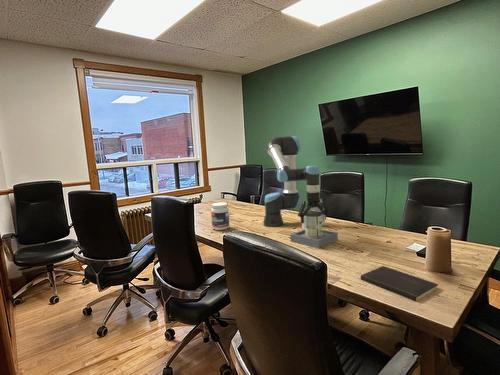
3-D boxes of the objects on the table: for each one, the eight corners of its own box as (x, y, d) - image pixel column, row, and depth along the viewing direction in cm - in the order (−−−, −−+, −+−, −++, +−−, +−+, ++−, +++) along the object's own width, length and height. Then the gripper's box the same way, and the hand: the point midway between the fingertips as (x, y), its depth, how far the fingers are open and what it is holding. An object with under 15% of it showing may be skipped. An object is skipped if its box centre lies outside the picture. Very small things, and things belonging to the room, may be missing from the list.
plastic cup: (327, 227, 204) (326, 210, 203) (311, 227, 207) (310, 210, 205) (326, 223, 215) (326, 207, 213) (311, 223, 217) (310, 207, 216)
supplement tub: (209, 230, 211) (207, 205, 208) (215, 226, 223) (214, 202, 221) (226, 231, 208) (224, 205, 205) (231, 226, 220) (230, 202, 218)
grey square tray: (290, 241, 178) (290, 234, 177) (310, 233, 191) (310, 227, 190) (318, 248, 163) (318, 240, 162) (337, 239, 176) (337, 232, 176)
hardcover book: (382, 270, 132) (383, 265, 131) (438, 289, 112) (438, 284, 112) (360, 280, 123) (360, 275, 123) (415, 303, 104) (415, 297, 104)
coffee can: (306, 232, 183) (305, 210, 181) (323, 233, 180) (322, 211, 178) (303, 237, 173) (303, 214, 172) (321, 238, 170) (321, 215, 168)
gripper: (297, 194, 166) (298, 230, 168) (334, 190, 174) (335, 225, 176) (291, 192, 173) (292, 227, 175) (327, 189, 181) (327, 222, 183)
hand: (313, 226), depth 176 cm, fingers open, 13 cm apart
